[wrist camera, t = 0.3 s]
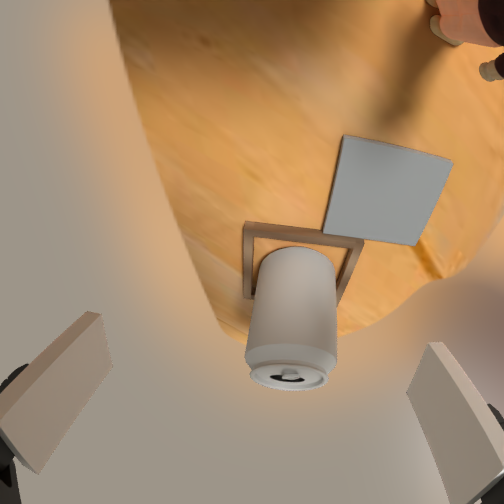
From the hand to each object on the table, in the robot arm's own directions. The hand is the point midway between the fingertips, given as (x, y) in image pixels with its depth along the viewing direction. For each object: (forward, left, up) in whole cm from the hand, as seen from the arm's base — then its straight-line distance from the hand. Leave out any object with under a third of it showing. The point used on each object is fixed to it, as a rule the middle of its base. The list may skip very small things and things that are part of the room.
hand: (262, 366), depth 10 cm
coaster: (+2, +8, -15) cm, 18 cm away
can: (+12, +2, -16) cm, 20 cm away
